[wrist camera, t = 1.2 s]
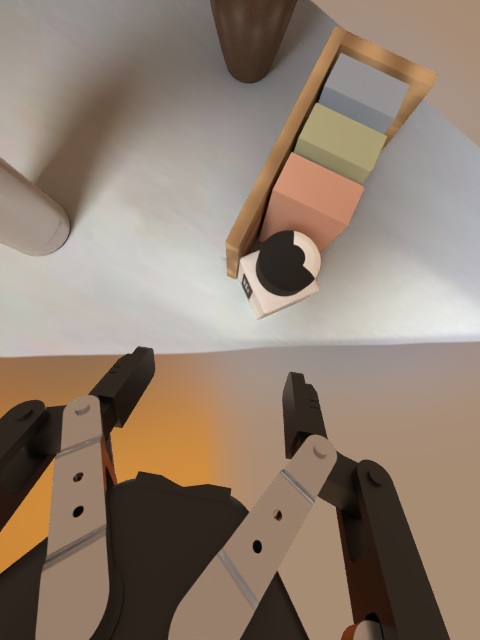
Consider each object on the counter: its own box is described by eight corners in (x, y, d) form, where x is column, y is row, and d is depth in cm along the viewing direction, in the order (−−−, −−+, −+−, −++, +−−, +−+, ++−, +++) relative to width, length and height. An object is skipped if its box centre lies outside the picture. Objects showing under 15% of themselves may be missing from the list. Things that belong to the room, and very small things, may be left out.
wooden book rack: (227, 275, 35) (225, 240, 23) (302, 124, 38) (335, 25, 27) (304, 312, 35) (343, 296, 23) (373, 157, 38) (437, 74, 27)
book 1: (294, 167, 38) (324, 85, 26) (306, 143, 38) (340, 52, 26) (342, 189, 38) (395, 118, 26) (353, 165, 38) (409, 85, 26)
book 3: (258, 240, 36) (272, 189, 24) (271, 214, 37) (291, 151, 25) (308, 264, 36) (348, 225, 24) (320, 237, 37) (364, 186, 25)
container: (257, 320, 35) (273, 307, 22) (236, 276, 35) (241, 237, 22) (301, 301, 35) (342, 276, 22) (280, 257, 36) (309, 209, 23)
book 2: (276, 204, 37) (298, 137, 25) (288, 179, 37) (316, 102, 25) (325, 227, 37) (371, 172, 25) (336, 202, 37) (387, 136, 25)
